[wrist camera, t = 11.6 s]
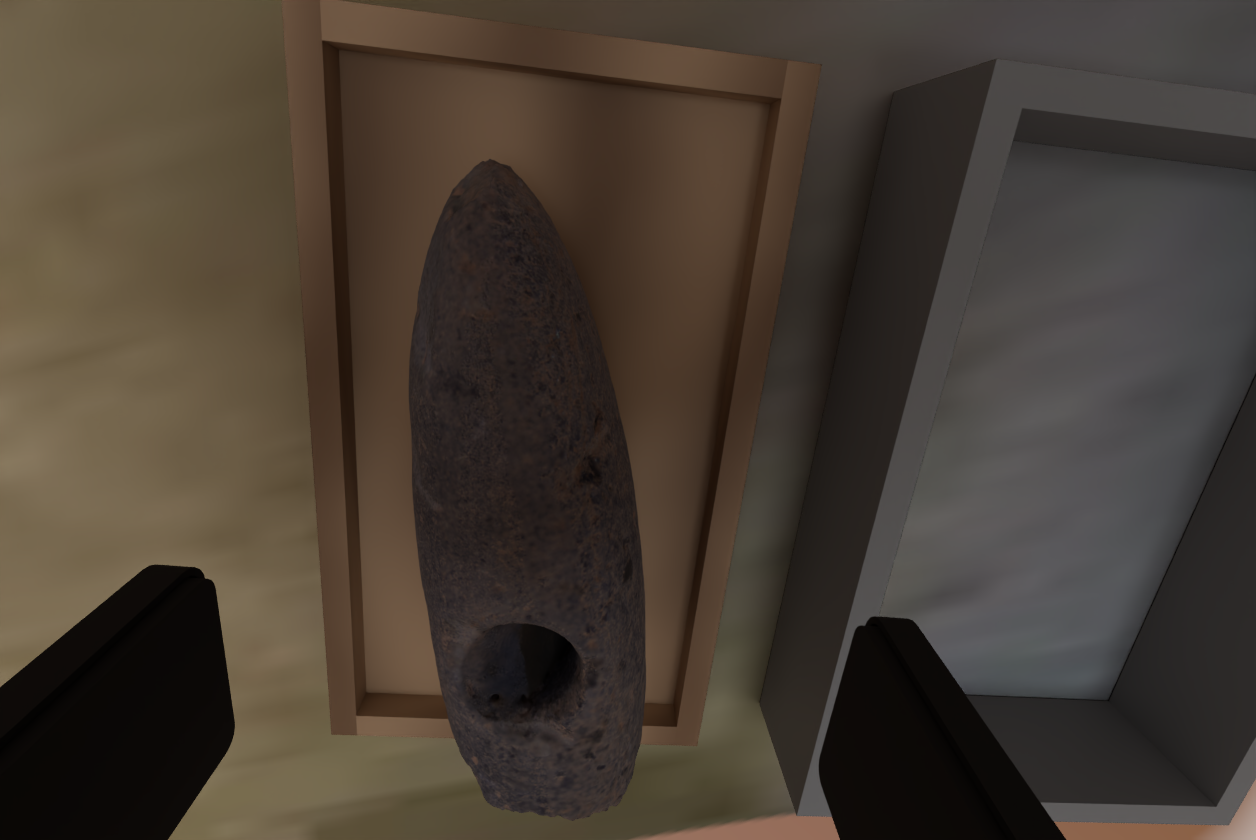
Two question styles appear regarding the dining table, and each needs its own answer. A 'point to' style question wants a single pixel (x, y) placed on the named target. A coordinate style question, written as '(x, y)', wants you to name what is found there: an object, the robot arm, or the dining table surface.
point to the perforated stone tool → (524, 509)
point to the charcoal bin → (900, 428)
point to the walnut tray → (607, 267)
